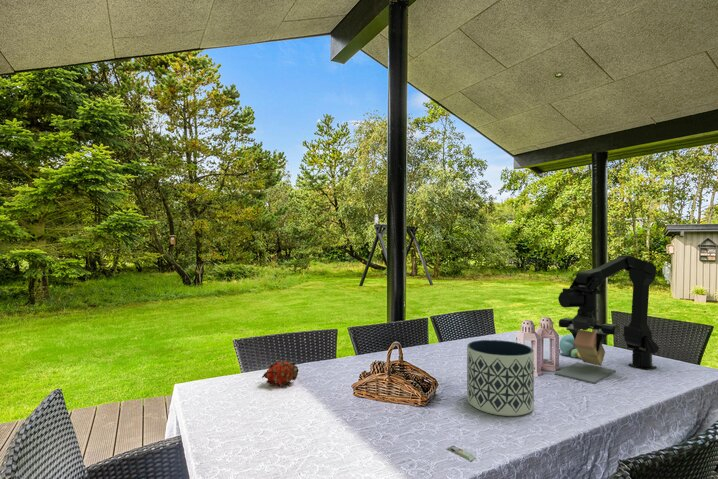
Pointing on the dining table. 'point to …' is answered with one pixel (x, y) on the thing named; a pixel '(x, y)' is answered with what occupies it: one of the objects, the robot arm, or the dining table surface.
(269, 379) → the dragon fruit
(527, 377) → the planter
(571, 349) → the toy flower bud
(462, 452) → the granola bar
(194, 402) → the dining table surface
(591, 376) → the charcoal mat
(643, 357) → the robot arm
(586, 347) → the oak block
